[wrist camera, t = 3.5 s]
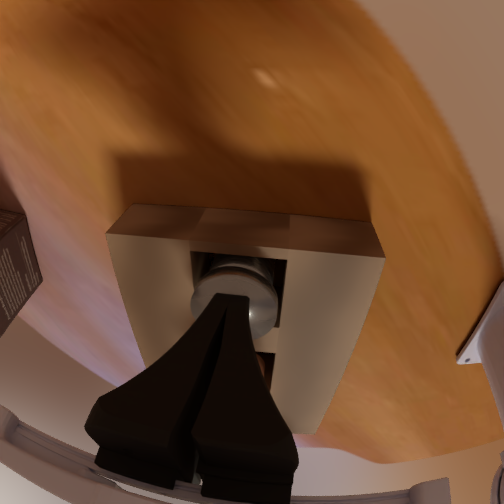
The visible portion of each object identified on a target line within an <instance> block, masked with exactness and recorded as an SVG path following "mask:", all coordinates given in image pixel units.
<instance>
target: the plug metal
mask: <svg viewBox="0 0 504 504" xmlns="http://www.w3.org/2000/svg"><path fill="white" fill-rule="evenodd" d="M275 261H276V259H275V258H264V257H253V256H242V255H231V254H220V253H216V254H215V257H214V259H213V262H212V265H211V267H210V270H209V271H208V272H207V273H205V274H204V275H203V276H202V277H201V278H200V279H199V281H198V283H197V285H196V287H195V290H194V292H193V295H192V298H191V302H190V308H191V312H192V315H193V317H194V318H195V320H196V319H197V318H198V317H199V316H200V314H201V313H202V312H203V310H204V309H205V308H206V306H207V305H208V303H209V302H210V300H211V299H212V297H213V296H214V294H216V293H223V294H233V295H242V296H248V297H249V298H250V307H249V322H250V329H251V334H252V340H254V339H258V338H260V337H262V336H264V335H266V334H267V333H268V332H269V331H270V330H271V329H272V328H273V326H274V325H275V322H276V319H277V309H278V297H277V293H276V291H275V289H274V287H273V280H274V270H275Z"/></svg>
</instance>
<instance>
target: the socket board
mask: <svg viewBox="0 0 504 504" xmlns="http://www.w3.org/2000/svg"><path fill="white" fill-rule="evenodd" d="M105 235H106V239H107V243H108V247H109V251H110V255H111V259H112V263H113V267H114V271H115V274H116V278H117V281H118V285H119V288H120V292H121V295H122V299H123V302H124V305H125V308H126V312H127V315H128V318H129V321H130V324H131V327H132V330H133V333H134V336H135V339H136V342H137V344H138V347H139V350H140V353H141V356H142V358H143V361H144V364H145V366H146V369H147V368H148V367H149V366H150V365H152V364H153V363H154V362H155V361H156V360H158V359H159V358H160V357H161V356H162V355H163V354H165V353H166V352H167V351H168V350H169V349H170V348H171V347H172V346H173V345H174V344H175V343H176V342H177V341H178V340H179V339H180V338H181V337H182V336H183V335H184V333H185V332H186V331H187V330H188V329H189V328H190V327H191V325H192V324H193V323H194V322H195V321H196V320H195V318H194V317H193V315H192V312H191V308H190V302H191V298H192V295H193V292H194V290H195V287H196V285H197V283H198V281H199V279H200V278H201V277H202V276H203V275H204V274H205V273H207V272H208V271H209V270H210V264H209V252H210V253H220V254H231V255H242V256H253V257H264V258H275V259H285V268H284V277H283V286H282V288H279V287H274V289H275V291H276V293H277V297H278V309H277V319H276V322H275V325H274V326H273V328H272V329H271V330H270V331H269V332H268V333H267V334H266V335H264V336H262V337H260V338H258V339H254V340H253V344H254V348H255V351H258V352H268V353H274V355H273V354H263V353H256V354H258V355H259V356H260V357H261V358H262V359H263V360H264V363H265V370H264V379H265V382H266V384H267V387H268V389H269V391H270V393H271V395H272V398H273V400H274V402H275V404H276V406H277V408H278V410H279V412H280V413H281V415H282V417H283V419H284V420H285V422H286V424H287V425H288V427H289V429H290V430H291V432H292V433H294V434H315V433H316V431H317V429H318V427H319V425H320V423H321V421H322V419H323V417H324V415H325V413H326V411H327V409H328V406H329V404H330V402H331V400H332V398H333V396H334V394H335V391H336V389H337V387H338V385H339V383H340V380H341V378H342V376H343V374H344V371H345V369H346V367H347V364H348V362H349V359H350V357H351V355H352V352H353V350H354V347H355V345H356V342H357V340H358V337H359V335H360V332H361V329H362V327H363V324H364V322H365V319H366V316H367V313H368V311H369V308H370V305H371V302H372V299H373V296H374V294H375V291H376V288H377V285H378V282H379V279H380V276H381V272H382V269H383V266H384V263H385V260H386V257H385V255H384V252H383V249H382V247H381V244H380V242H379V239H378V237H377V234H376V232H375V229H374V227H373V224H372V223H370V222H361V221H352V220H343V219H334V218H324V217H314V216H304V215H293V214H282V213H270V212H258V211H245V210H232V209H218V208H203V207H187V206H169V205H149V204H132V205H131V206H130V207H129V208H128V209H127V210H126V211H125V212H124V213H123V215H122V216H121V217H120V218H119V219H118V220H117V221H116V222H115V223H114V224H113V225H112V226H111V227H110V229H109V230H108V231H107V232H106V233H105Z"/></svg>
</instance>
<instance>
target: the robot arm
mask: <svg viewBox="0 0 504 504" xmlns="http://www.w3.org/2000/svg"><path fill="white" fill-rule="evenodd" d="M249 307H250V298H249V297H248V296H242V295H233V294H223V293H216V294H214V296H213V297H212V299H211V300H210V302H209V303H208V305H207V306H206V308H205V309H204V310H203V312H202V313H201V314H200V316H199V317H198V318H197V319H196V321H195V322H194V323H193V324H192V325H191V327H190V328H189V329H188V330H187V331H186V332H185V333H184V335H183V336H182V337H181V338H180V339H179V340H178V341H177V342H176V343H175V344H174V345H173V346H172V347H171V348H170V349H169V350H168V351H167V352H166V353H165V354H163V355H162V356H161V357H160V358H159V359H158V360H156V361H155V362H154V363H153V364H152V365H150V366H149V367H148V368H147V369H145V370H144V371H142V372H141V373H140V374H138V375H137V376H135V377H134V378H132V379H131V380H129V381H128V382H126V383H125V384H123V385H121V386H119V387H118V388H116V389H114V390H112V391H110V392H108V393H106V394H105V395H103V396H101V397H99V398H98V400H97V401H96V403H95V404H94V406H93V408H92V410H91V412H90V414H89V416H88V419H87V421H86V423H85V426H84V427H85V430H86V432H87V433H88V435H89V436H90V437H91V438H92V439H93V440H94V441H95V442H96V443H97V444H98V445H99V446H100V447H99V450H98V453H97V455H93V454H90V453H88V452H85V451H83V450H80V449H78V448H76V447H73V446H71V445H69V444H66V443H64V442H62V441H60V440H58V439H55V438H53V437H51V436H49V435H47V434H45V433H43V432H41V431H39V430H37V429H35V428H33V427H31V426H29V425H27V424H26V423H24V422H22V421H20V420H19V419H18V417H17V416H15V415H14V414H13V413H12V412H11V411H10V410H8V409H7V408H5V407H3V406H2V405H0V462H1V463H3V464H4V465H6V466H7V467H9V468H10V469H12V470H13V471H15V472H16V473H18V474H20V475H21V476H23V477H24V478H26V479H27V480H29V481H31V482H33V483H34V484H36V485H38V486H39V487H41V488H43V489H45V490H46V491H49V492H50V493H52V494H54V495H56V496H58V497H60V498H62V499H63V500H66V501H68V502H70V503H72V504H171V503H167V502H163V501H160V500H156V499H152V498H149V497H145V496H142V495H138V494H135V493H131V492H128V491H126V490H124V489H122V488H121V487H119V486H118V485H117V484H116V483H115V482H113V481H111V480H109V479H113V480H115V481H118V482H121V483H124V484H127V485H130V486H133V487H136V488H139V489H143V490H146V491H150V492H153V493H157V494H160V495H164V496H168V497H172V498H176V499H181V500H185V501H190V502H195V503H200V504H451V496H450V487H449V478H447V477H446V478H441V479H437V480H431V481H426V482H422V483H419V484H416V485H414V486H412V487H411V488H410V489H406V490H399V491H392V492H384V493H374V494H363V495H348V496H291V489H292V488H291V487H292V484H293V477H294V472H295V470H296V469H297V467H298V464H299V458H298V452H297V448H296V445H295V442H294V439H293V436H292V432H291V430H290V429H289V427H288V425H287V424H286V422H285V420H284V419H283V417H282V415H281V413H280V412H279V410H278V408H277V406H276V404H275V402H274V400H273V398H272V395H271V393H270V391H269V389H268V387H267V384H266V382H265V379H264V377H263V374H262V371H261V368H260V365H259V362H258V359H257V356H256V352H255V348H254V344H253V340H252V334H251V329H250V322H249ZM456 361H457V364H471V363H482V365H483V367H484V370H485V373H486V375H487V378H488V381H489V384H490V387H491V390H492V393H493V396H494V399H495V402H496V405H497V408H498V412H499V415H500V419H501V422H502V426H503V429H504V281H503V282H502V283H501V285H500V286H499V288H498V290H497V292H496V294H495V296H494V298H493V299H492V301H491V303H490V305H489V307H488V308H487V310H486V312H485V314H484V315H483V317H482V319H481V320H480V322H479V324H478V325H477V327H476V329H475V330H474V332H473V333H472V335H471V337H470V338H469V340H468V341H467V343H466V344H465V346H464V347H463V349H462V350H461V352H460V353H459V355H458V356H457V358H456ZM500 456H501V461H502V464H501V465H500V466H499V468H498V470H497V471H496V474H495V476H494V479H493V483H492V487H491V496H490V504H504V451H502V452H501V453H500ZM98 474H99V475H98ZM100 475H101V476H100ZM102 476H104V477H107V478H109V479H106V478H104V477H102ZM201 479H202V481H203V483H202V485H199V484H200V482H201Z"/></svg>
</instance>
